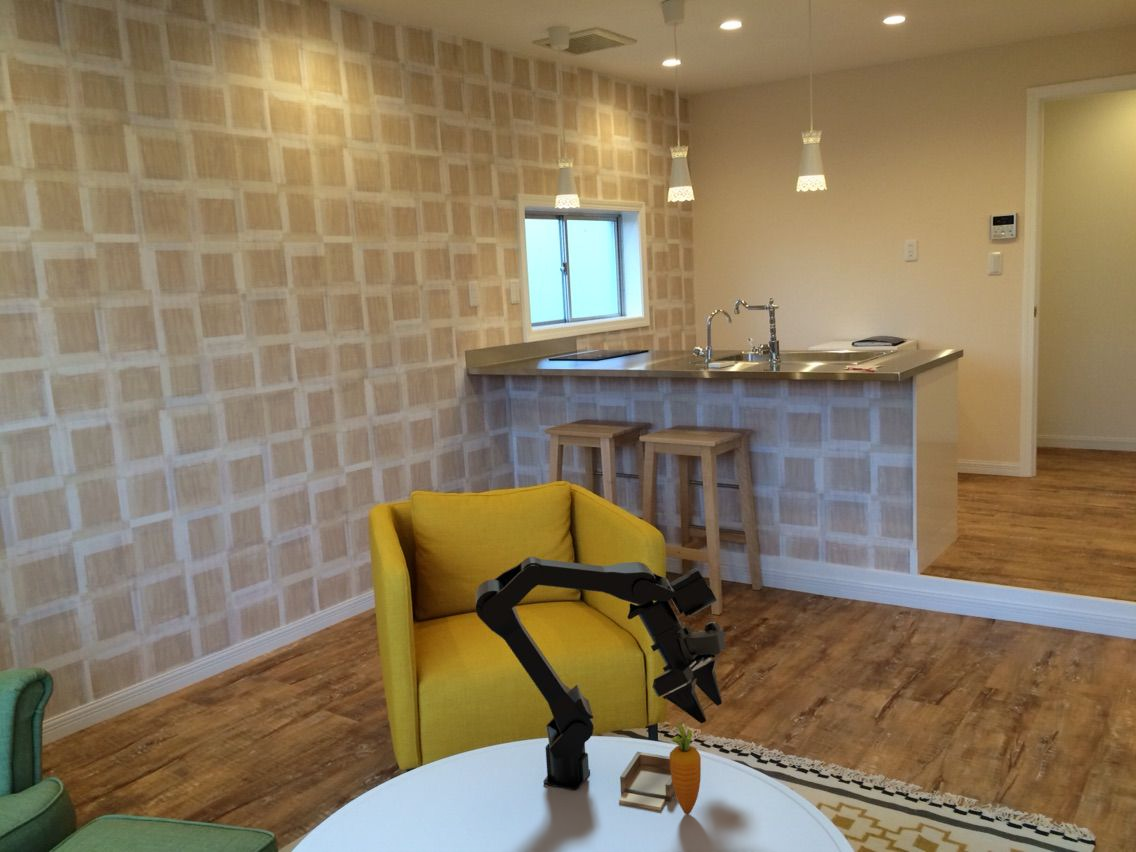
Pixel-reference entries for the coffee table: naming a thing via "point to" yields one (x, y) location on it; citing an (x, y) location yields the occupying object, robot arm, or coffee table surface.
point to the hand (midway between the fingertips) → (712, 713)
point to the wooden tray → (647, 781)
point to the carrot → (685, 771)
